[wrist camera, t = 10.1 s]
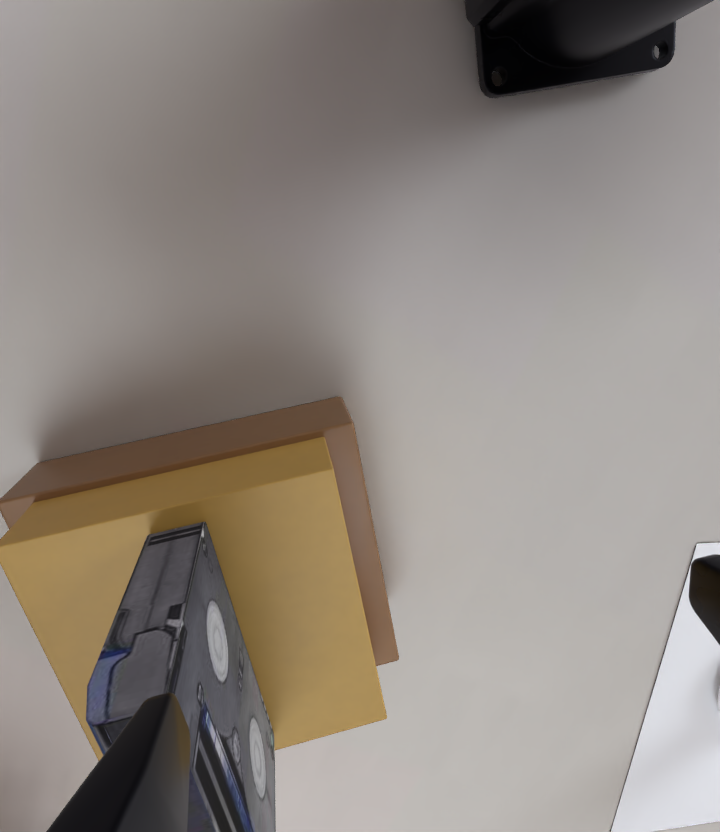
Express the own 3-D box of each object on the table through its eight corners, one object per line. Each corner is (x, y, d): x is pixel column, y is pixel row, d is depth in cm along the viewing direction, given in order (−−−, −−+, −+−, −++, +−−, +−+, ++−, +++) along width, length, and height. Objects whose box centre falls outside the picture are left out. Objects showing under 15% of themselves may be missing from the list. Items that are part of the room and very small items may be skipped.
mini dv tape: (148, 532, 14) (68, 729, 8) (204, 518, 14) (163, 704, 9) (228, 747, 17) (208, 1002, 11) (274, 735, 17) (277, 980, 11)
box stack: (341, 395, 19) (367, 451, 14) (383, 608, 23) (417, 716, 18) (36, 462, 18) (-54, 549, 13) (129, 675, 22) (86, 810, 17)
